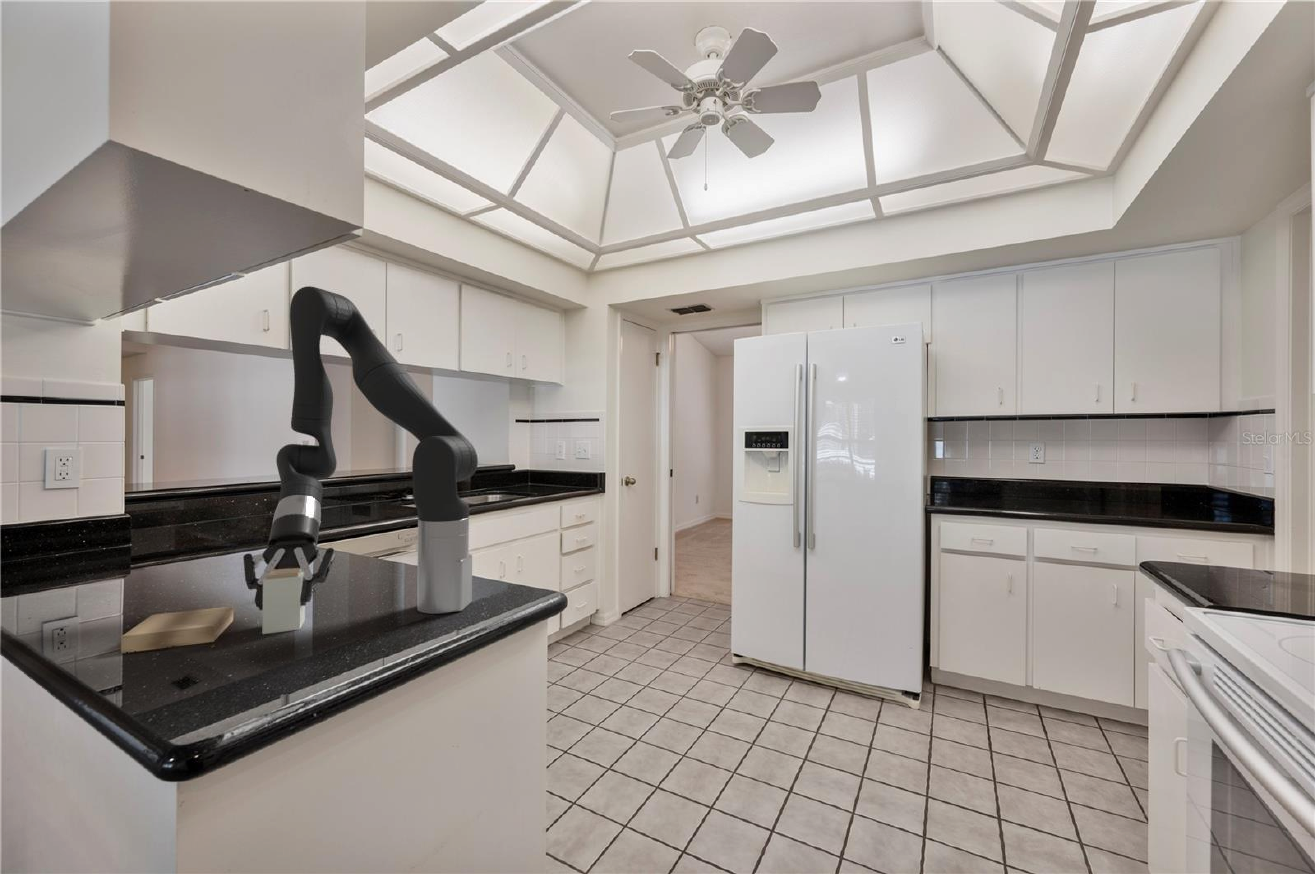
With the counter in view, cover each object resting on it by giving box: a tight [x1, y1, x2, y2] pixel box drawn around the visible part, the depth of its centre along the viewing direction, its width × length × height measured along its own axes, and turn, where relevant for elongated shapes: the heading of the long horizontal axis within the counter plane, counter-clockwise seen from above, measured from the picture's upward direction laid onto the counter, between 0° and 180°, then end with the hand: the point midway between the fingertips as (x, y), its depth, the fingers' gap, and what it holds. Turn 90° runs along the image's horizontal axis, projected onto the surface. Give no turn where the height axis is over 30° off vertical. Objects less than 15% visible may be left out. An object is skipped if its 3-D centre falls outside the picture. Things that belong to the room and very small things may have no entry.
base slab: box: [120, 605, 234, 654], centre depth 87 cm, size 11×11×3 cm
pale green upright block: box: [261, 567, 306, 635], centre depth 91 cm, size 5×5×10 cm
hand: (282, 605), depth 89 cm, fingers closed on pale green upright block, 5 cm apart
